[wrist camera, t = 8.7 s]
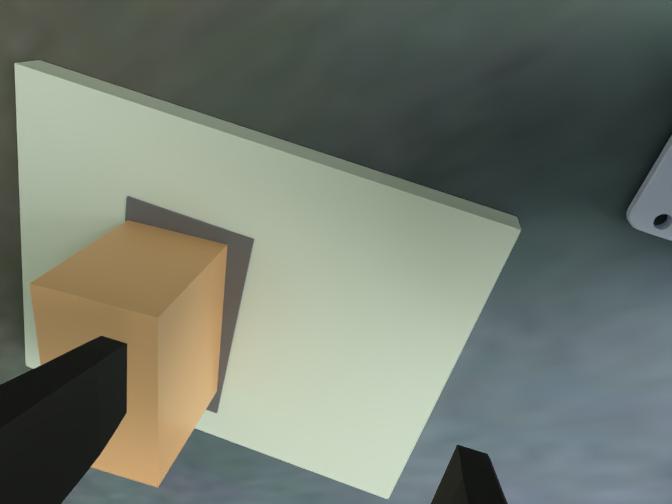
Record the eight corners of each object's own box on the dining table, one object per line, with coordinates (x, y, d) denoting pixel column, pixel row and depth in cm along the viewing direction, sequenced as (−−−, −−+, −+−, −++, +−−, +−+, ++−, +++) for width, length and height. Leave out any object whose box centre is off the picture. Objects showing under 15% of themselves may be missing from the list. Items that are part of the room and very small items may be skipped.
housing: (227, 244, 19) (157, 317, 14) (217, 391, 22) (157, 487, 17) (127, 220, 19) (29, 283, 15) (132, 367, 22) (53, 455, 18)
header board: (516, 216, 17) (535, 273, 14) (390, 477, 24) (379, 563, 20) (39, 60, 18) (-65, 72, 15) (44, 350, 25) (-28, 410, 21)
